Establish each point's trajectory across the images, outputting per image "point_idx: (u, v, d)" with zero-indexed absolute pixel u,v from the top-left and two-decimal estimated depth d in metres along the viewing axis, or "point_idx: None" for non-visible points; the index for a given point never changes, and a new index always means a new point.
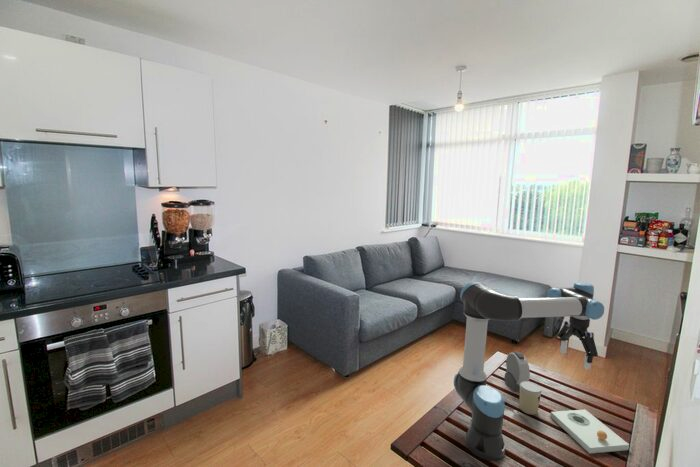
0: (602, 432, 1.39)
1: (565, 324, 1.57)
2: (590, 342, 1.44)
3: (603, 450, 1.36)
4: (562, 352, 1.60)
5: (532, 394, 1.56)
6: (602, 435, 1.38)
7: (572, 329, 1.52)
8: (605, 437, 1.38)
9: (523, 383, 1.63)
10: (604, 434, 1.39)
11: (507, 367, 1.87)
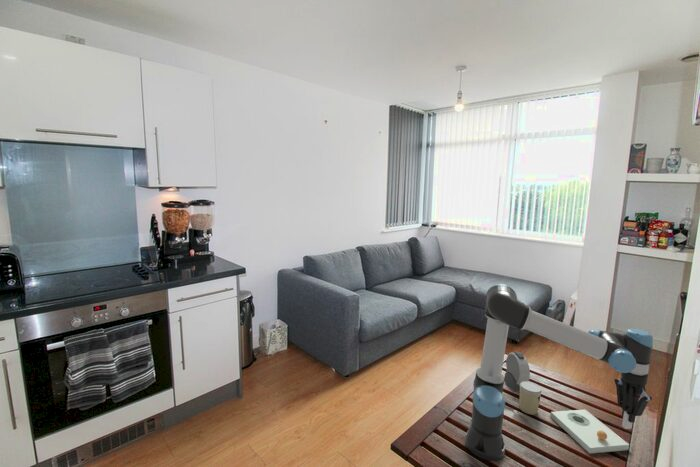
0: (602, 432, 1.39)
1: (616, 383, 1.32)
2: (641, 405, 1.23)
3: (603, 450, 1.36)
4: None
5: (532, 394, 1.56)
6: (602, 435, 1.38)
7: (625, 384, 1.28)
8: (605, 437, 1.38)
9: (523, 383, 1.63)
10: (604, 434, 1.39)
11: (507, 367, 1.87)
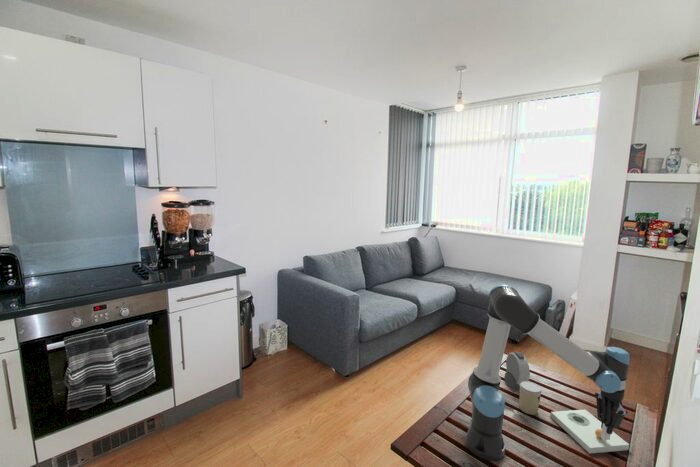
0: (599, 429, 1.40)
1: (597, 396, 1.41)
2: (618, 418, 1.32)
3: (603, 450, 1.36)
4: None
5: (532, 394, 1.56)
6: (599, 432, 1.40)
7: (604, 398, 1.37)
8: None
9: (523, 383, 1.63)
10: (601, 431, 1.40)
11: (507, 367, 1.87)
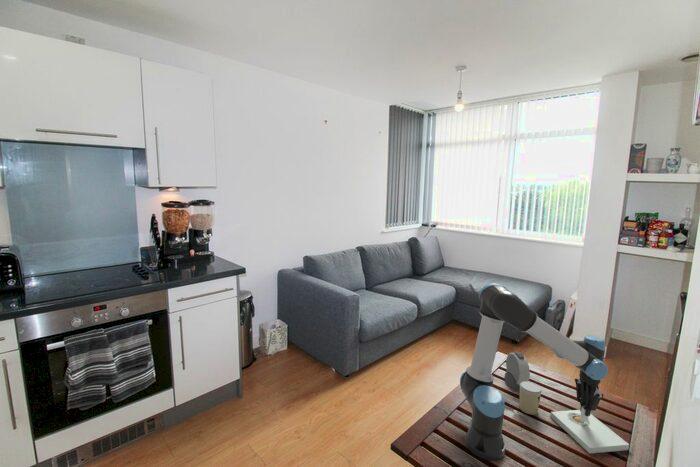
0: (577, 417, 1.52)
1: (576, 382, 1.52)
2: (595, 401, 1.42)
3: (603, 450, 1.36)
4: None
5: (532, 394, 1.56)
6: (577, 420, 1.51)
7: (582, 383, 1.47)
8: (580, 421, 1.50)
9: (523, 383, 1.63)
10: (579, 418, 1.51)
11: (507, 367, 1.87)
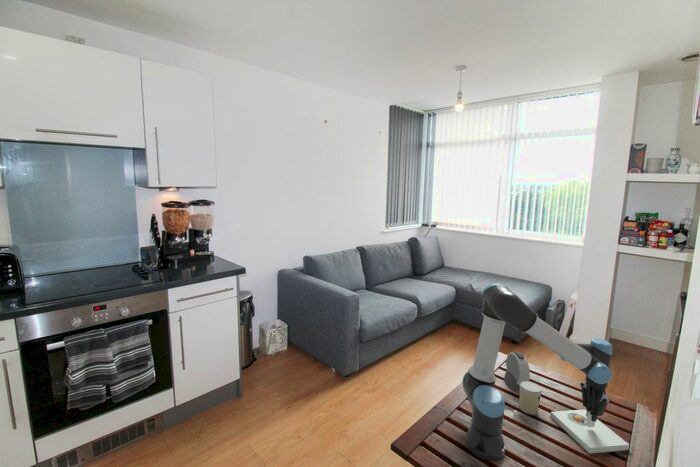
0: None
1: (582, 386, 1.48)
2: (602, 406, 1.39)
3: (603, 450, 1.36)
4: None
5: (532, 394, 1.56)
6: (576, 417, 1.52)
7: (589, 388, 1.44)
8: (580, 418, 1.51)
9: (523, 383, 1.63)
10: (578, 416, 1.52)
11: (507, 367, 1.87)
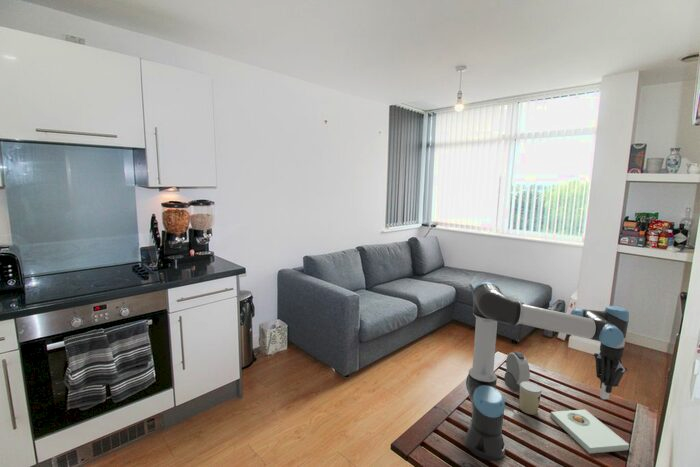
0: None
1: (596, 357, 1.41)
2: (617, 376, 1.32)
3: (603, 450, 1.36)
4: None
5: (532, 394, 1.56)
6: (576, 417, 1.52)
7: (603, 358, 1.37)
8: (580, 418, 1.51)
9: (523, 383, 1.63)
10: (578, 416, 1.52)
11: (507, 367, 1.87)
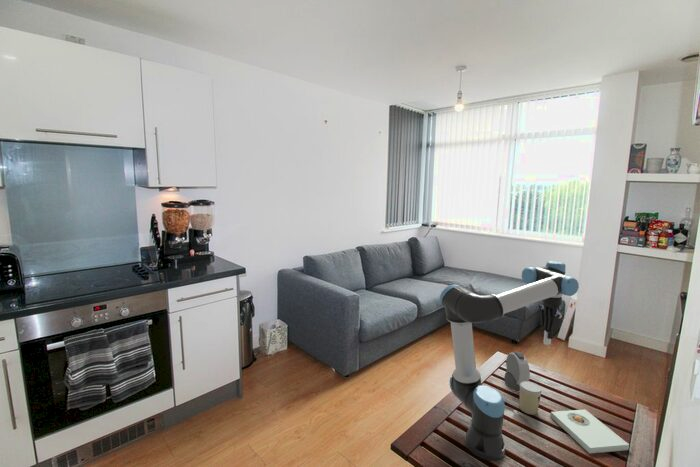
0: (576, 416, 1.53)
1: (540, 308, 1.58)
2: (556, 322, 1.49)
3: (603, 450, 1.36)
4: None
5: (532, 394, 1.56)
6: (576, 417, 1.52)
7: (545, 307, 1.54)
8: (580, 418, 1.51)
9: (523, 383, 1.63)
10: (578, 416, 1.52)
11: (507, 367, 1.87)
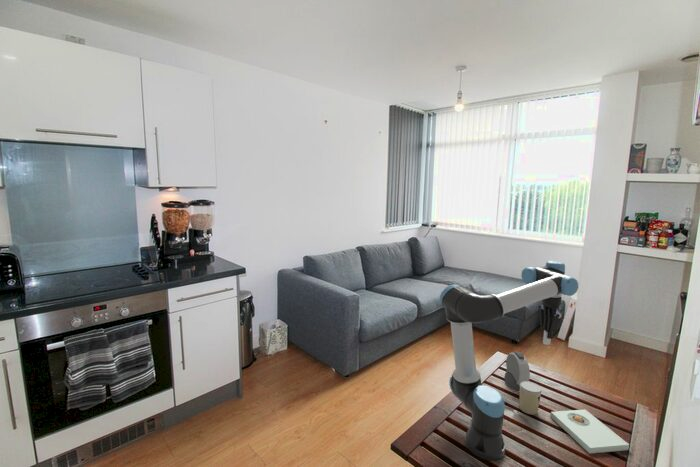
0: (576, 416, 1.53)
1: (540, 308, 1.58)
2: (555, 322, 1.49)
3: (603, 450, 1.36)
4: None
5: (532, 394, 1.56)
6: (576, 418, 1.52)
7: (545, 307, 1.54)
8: (580, 419, 1.51)
9: (523, 383, 1.63)
10: (578, 417, 1.52)
11: (507, 367, 1.87)
